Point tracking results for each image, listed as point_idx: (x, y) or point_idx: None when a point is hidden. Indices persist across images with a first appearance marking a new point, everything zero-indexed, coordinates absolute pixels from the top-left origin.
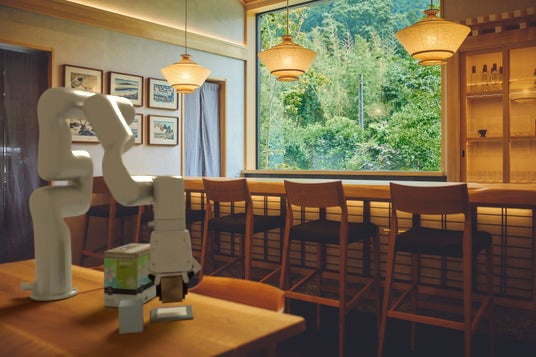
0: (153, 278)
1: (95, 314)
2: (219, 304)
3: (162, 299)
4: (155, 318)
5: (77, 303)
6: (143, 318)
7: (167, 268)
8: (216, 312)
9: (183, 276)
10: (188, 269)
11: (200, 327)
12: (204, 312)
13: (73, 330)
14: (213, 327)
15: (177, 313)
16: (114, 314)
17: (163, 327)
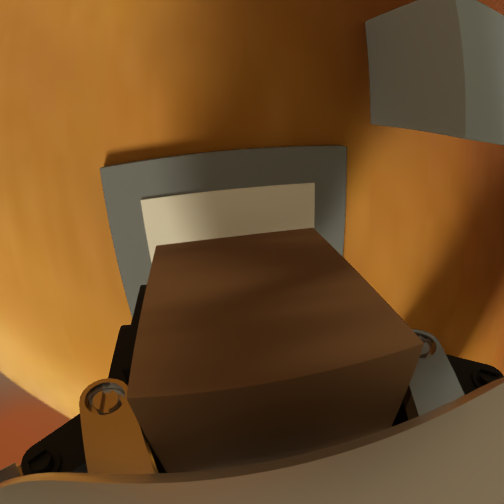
0: (457, 375)
1: (490, 290)
2: (38, 367)
3: (318, 239)
4: (322, 170)
5: None
6: (388, 119)
7: (423, 487)
8: (13, 263)
9: (129, 438)
10: (8, 484)
11: (67, 25)
12: (64, 272)
13: None
14: (13, 31)
15: (199, 236)
16: (454, 287)
17: (268, 44)
